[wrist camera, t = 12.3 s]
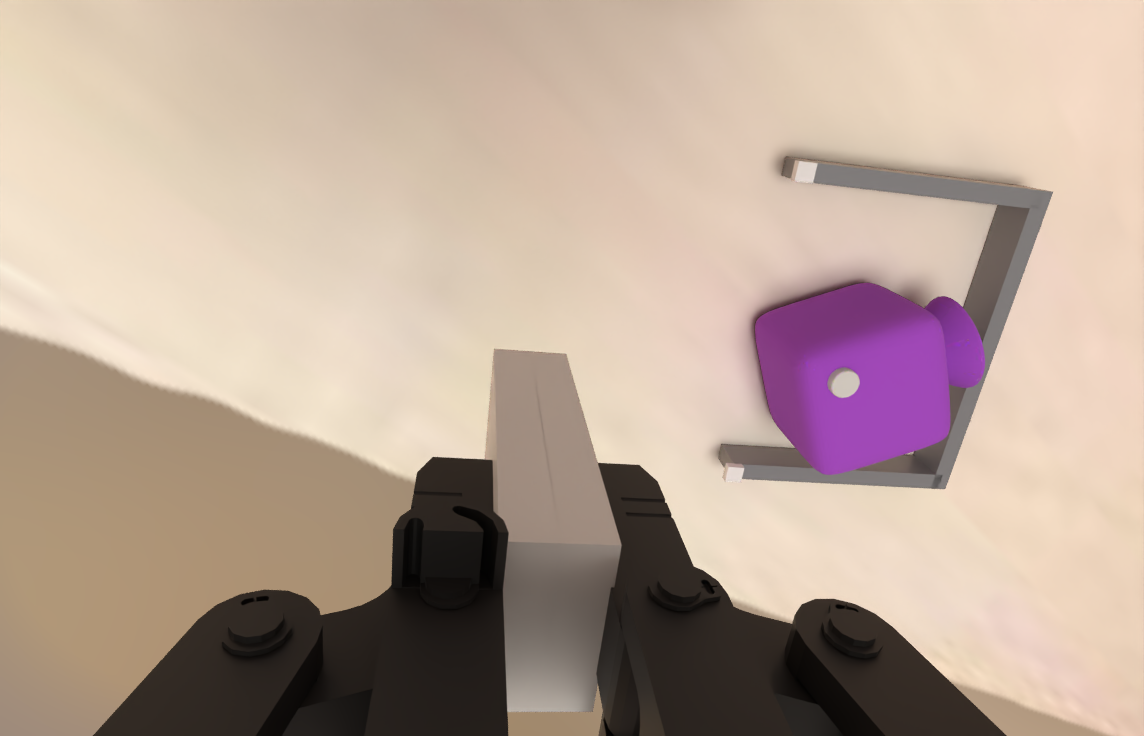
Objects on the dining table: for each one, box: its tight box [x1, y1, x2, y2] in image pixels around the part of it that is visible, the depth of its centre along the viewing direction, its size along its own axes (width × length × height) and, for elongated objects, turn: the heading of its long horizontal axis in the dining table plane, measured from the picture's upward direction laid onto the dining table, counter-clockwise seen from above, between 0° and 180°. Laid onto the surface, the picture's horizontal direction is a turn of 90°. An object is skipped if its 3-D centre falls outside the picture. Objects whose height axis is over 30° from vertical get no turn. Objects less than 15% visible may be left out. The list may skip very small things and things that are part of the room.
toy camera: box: [755, 283, 985, 475], centre depth 47 cm, size 11×14×10 cm
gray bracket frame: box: [719, 157, 1053, 489], centre depth 50 cm, size 22×18×4 cm
